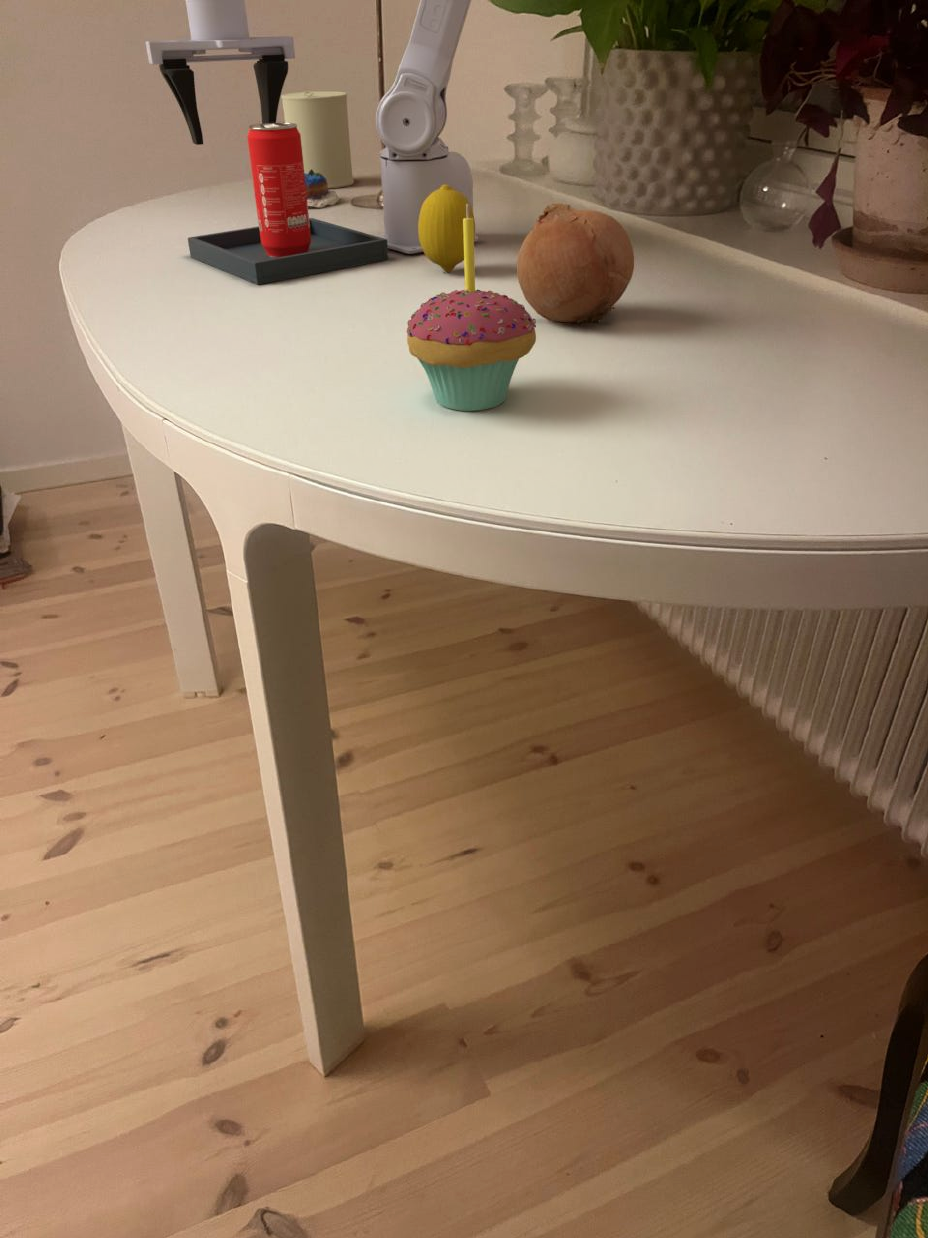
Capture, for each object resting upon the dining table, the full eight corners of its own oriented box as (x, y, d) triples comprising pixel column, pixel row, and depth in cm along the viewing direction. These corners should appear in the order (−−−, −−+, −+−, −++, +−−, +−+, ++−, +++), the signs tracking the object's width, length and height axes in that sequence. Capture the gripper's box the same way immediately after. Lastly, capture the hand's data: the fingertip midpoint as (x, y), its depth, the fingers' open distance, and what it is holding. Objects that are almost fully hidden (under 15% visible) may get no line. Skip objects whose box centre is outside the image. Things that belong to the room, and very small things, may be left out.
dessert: (290, 190, 129) (309, 152, 126) (331, 220, 131) (351, 183, 127) (270, 206, 123) (290, 166, 120) (312, 237, 125) (333, 199, 121)
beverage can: (271, 261, 96) (255, 129, 90) (256, 251, 100) (239, 124, 94) (319, 254, 98) (306, 125, 92) (302, 245, 102) (289, 120, 96)
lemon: (469, 279, 91) (468, 189, 86) (414, 278, 92) (410, 188, 87) (480, 265, 95) (479, 179, 91) (427, 264, 96) (424, 178, 92)
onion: (528, 351, 82) (483, 237, 79) (620, 307, 84) (580, 194, 81) (569, 341, 73) (520, 212, 70) (671, 293, 75) (627, 165, 72)
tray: (313, 236, 108) (312, 217, 107) (388, 259, 98) (387, 239, 97) (190, 257, 101) (187, 237, 100) (257, 284, 91) (254, 263, 90)
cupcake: (408, 380, 68) (398, 199, 61) (525, 374, 68) (529, 195, 61) (412, 426, 60) (402, 226, 54) (544, 419, 61) (550, 221, 54)
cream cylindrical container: (282, 188, 135) (271, 93, 129) (301, 178, 143) (292, 87, 136) (344, 189, 134) (336, 92, 127) (360, 178, 141) (354, 87, 135)
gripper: (144, -14, 87) (172, 150, 94) (296, -16, 92) (311, 139, 99) (132, -13, 92) (159, 142, 100) (276, -15, 97) (292, 132, 105)
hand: (234, 140), depth 100 cm, fingers open, 7 cm apart
